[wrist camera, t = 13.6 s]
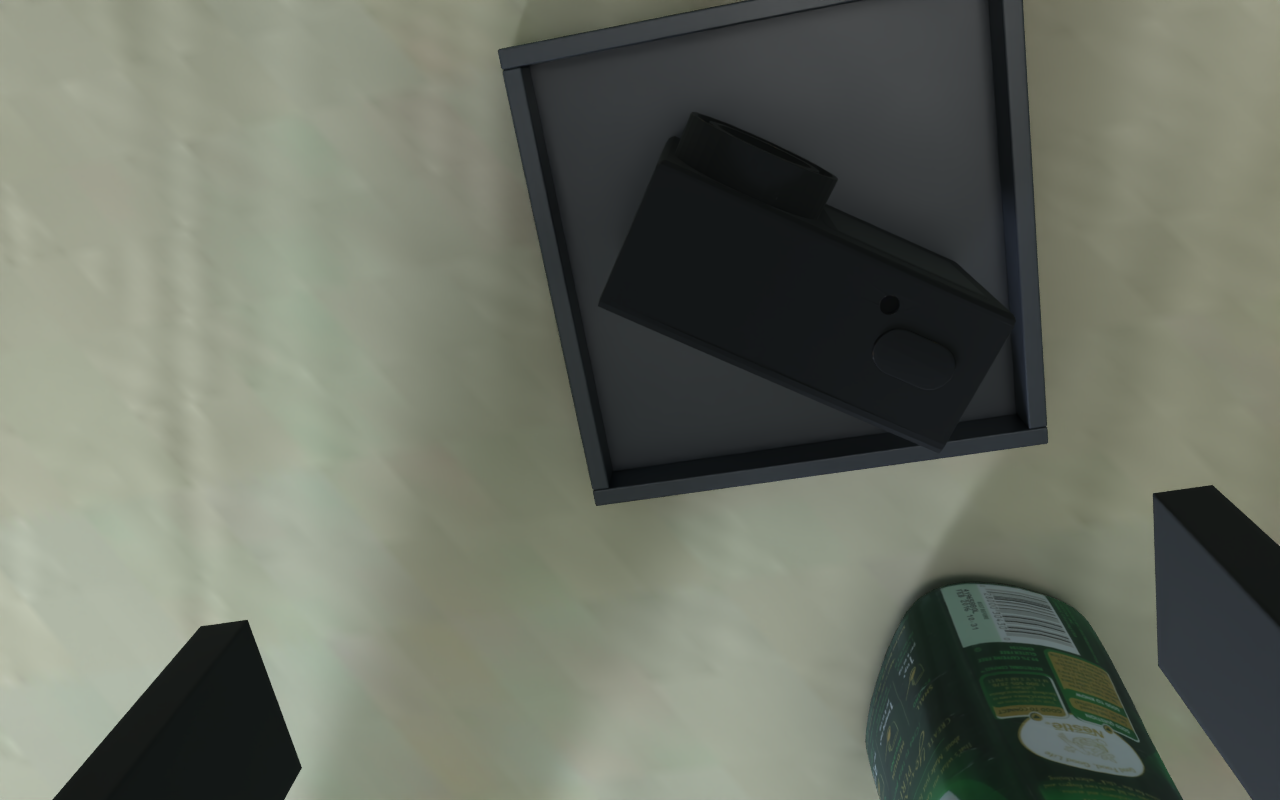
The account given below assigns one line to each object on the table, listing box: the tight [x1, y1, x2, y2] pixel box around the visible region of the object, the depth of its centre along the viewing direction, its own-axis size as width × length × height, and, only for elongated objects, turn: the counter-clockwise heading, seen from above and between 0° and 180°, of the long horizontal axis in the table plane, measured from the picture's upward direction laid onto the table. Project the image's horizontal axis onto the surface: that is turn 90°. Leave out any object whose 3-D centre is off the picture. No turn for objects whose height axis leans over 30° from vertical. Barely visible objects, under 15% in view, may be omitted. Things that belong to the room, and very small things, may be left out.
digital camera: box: [598, 112, 1016, 453], centre depth 30 cm, size 10×5×7 cm, turn 67°
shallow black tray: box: [498, 0, 1048, 506], centre depth 33 cm, size 15×15×2 cm
